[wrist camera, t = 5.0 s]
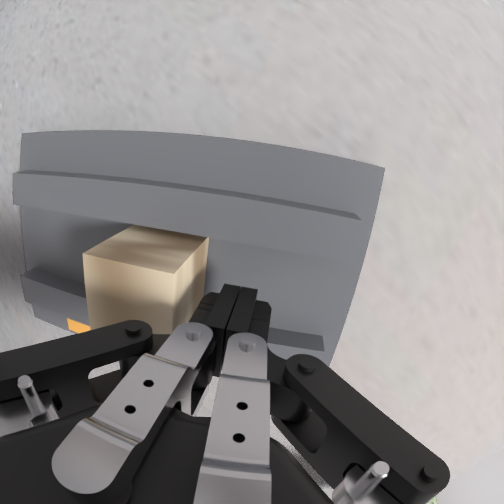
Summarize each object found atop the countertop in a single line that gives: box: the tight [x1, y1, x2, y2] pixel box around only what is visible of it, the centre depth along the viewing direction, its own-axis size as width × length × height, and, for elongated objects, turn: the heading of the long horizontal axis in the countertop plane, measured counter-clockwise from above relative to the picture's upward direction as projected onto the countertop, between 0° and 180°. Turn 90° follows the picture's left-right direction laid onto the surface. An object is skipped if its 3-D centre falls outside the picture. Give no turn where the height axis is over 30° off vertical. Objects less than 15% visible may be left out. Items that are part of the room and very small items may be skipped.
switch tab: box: [83, 225, 209, 334], centre depth 14 cm, size 4×4×5 cm
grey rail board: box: [13, 130, 385, 373], centre depth 16 cm, size 22×14×3 cm, turn 82°
